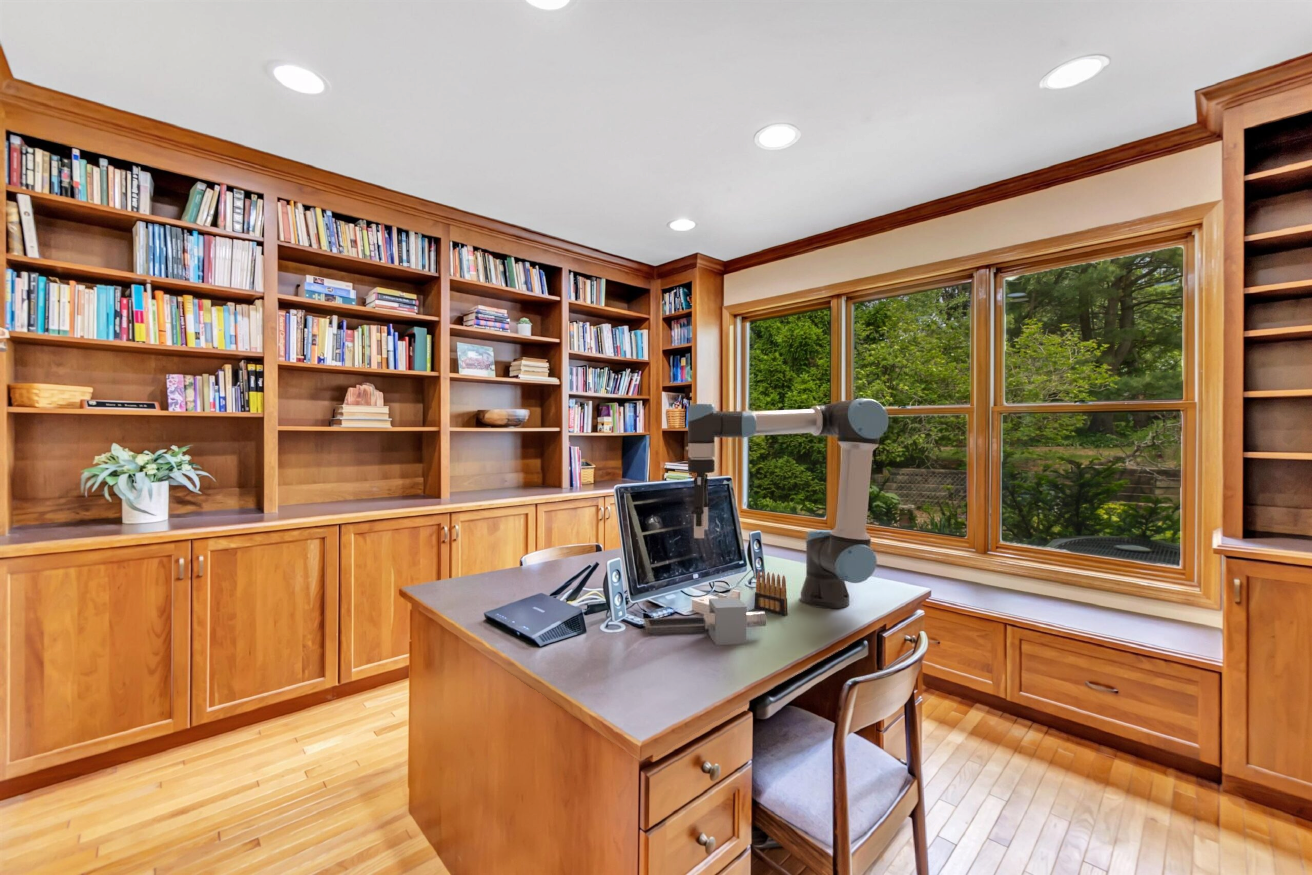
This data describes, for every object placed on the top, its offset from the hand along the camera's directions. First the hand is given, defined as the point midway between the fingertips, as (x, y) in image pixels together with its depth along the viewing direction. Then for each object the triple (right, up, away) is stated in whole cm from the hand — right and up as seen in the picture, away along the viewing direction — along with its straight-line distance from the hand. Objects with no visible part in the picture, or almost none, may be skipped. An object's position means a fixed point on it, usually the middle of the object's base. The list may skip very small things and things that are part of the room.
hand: (701, 533), depth 156 cm
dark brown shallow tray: (-5, -26, -4) cm, 26 cm away
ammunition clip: (+22, -26, +11) cm, 36 cm away
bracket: (+5, -26, +10) cm, 28 cm away
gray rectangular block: (+6, -26, -11) cm, 29 cm away
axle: (+8, -21, -11) cm, 25 cm away
